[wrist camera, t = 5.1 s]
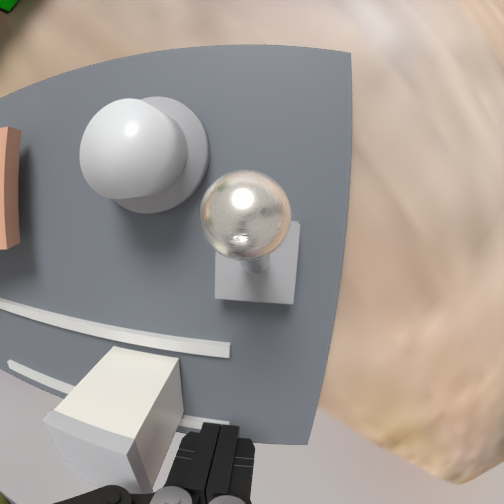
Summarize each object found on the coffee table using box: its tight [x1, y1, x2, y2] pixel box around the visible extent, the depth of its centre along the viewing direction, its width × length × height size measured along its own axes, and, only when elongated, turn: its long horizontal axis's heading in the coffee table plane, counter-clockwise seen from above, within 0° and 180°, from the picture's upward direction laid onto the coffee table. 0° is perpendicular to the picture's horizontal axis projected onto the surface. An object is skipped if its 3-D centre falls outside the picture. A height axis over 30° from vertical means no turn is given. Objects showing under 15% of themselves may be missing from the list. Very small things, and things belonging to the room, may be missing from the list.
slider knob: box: [42, 346, 184, 494], centre depth 11 cm, size 4×4×6 cm
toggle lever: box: [199, 170, 291, 274], centre depth 8 cm, size 2×2×6 cm
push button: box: [80, 98, 187, 199], centre depth 10 cm, size 3×3×2 cm
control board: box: [0, 45, 352, 445], centre depth 13 cm, size 26×20×4 cm
